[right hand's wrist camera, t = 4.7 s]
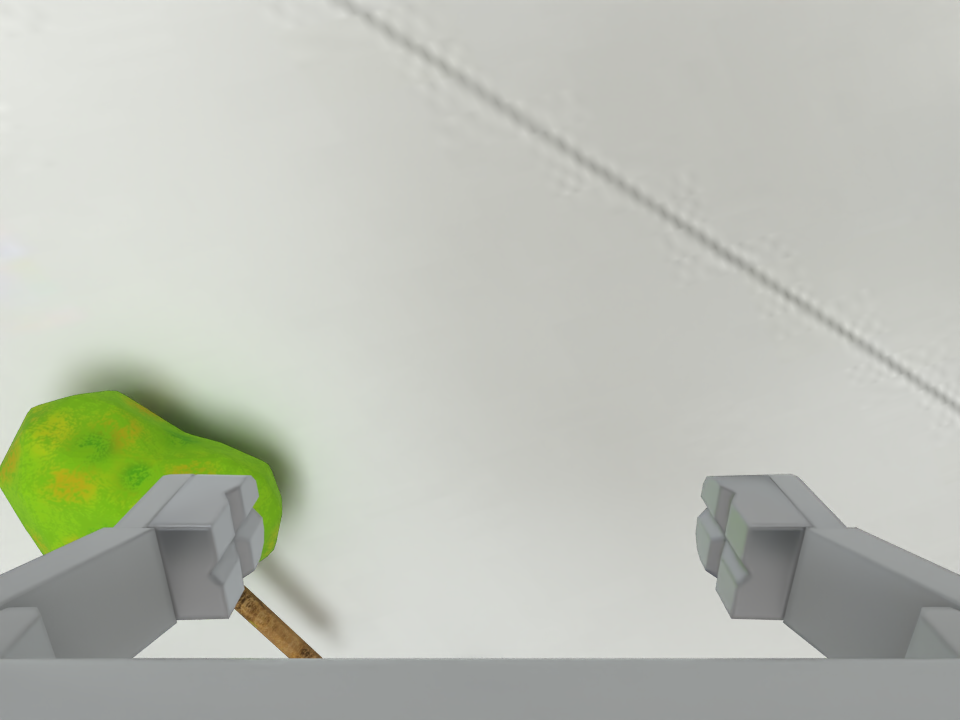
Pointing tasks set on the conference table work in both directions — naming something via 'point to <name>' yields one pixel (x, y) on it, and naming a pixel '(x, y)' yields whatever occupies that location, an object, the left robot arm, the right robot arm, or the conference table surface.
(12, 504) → the decorative tree
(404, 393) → the conference table surface
